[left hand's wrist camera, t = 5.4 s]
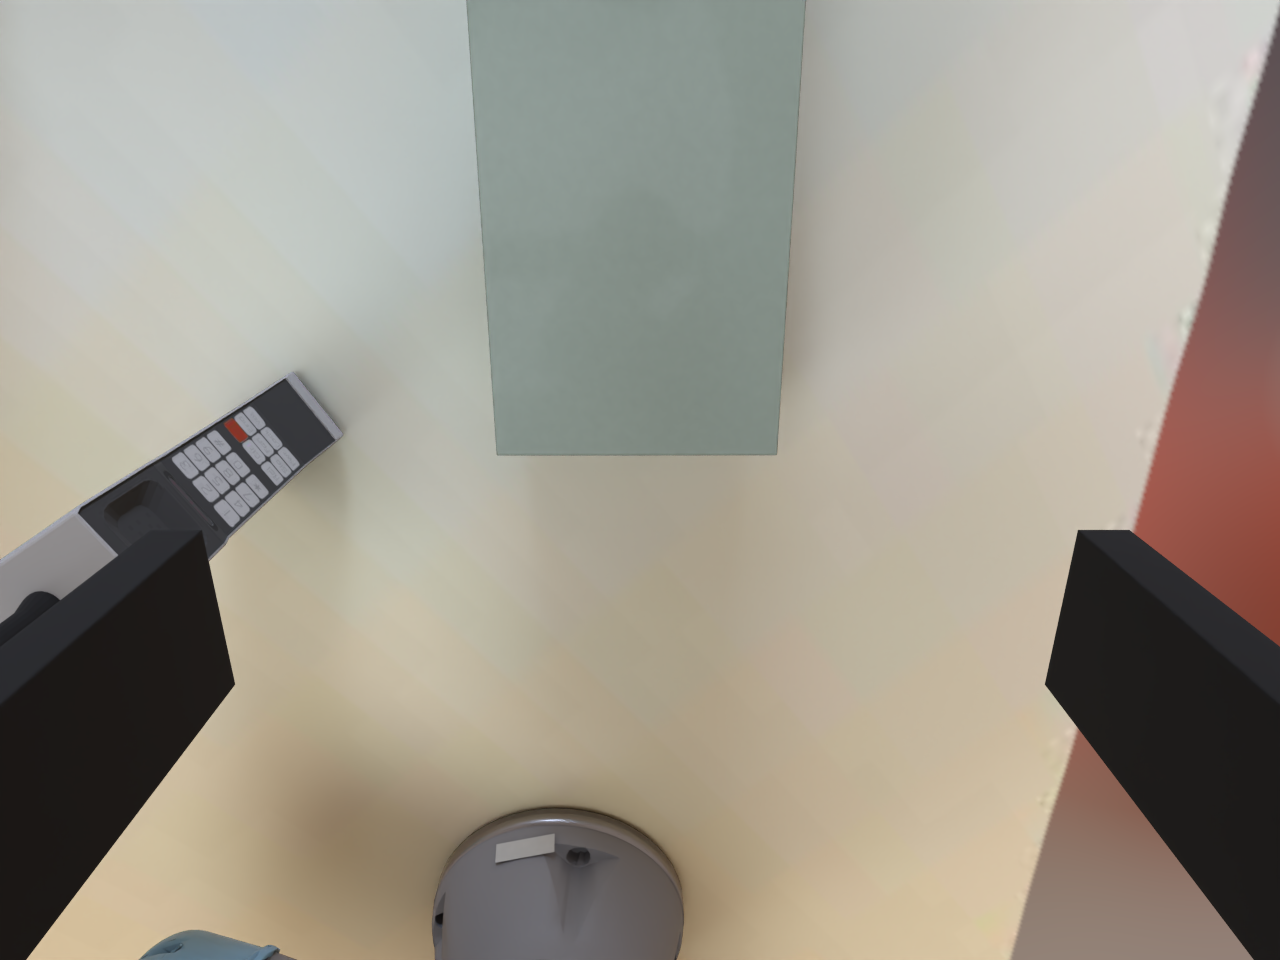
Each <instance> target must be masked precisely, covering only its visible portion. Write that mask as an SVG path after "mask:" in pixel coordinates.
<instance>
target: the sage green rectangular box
mask: <svg viewBox="0 0 1280 960" xmlns="http://www.w3.org/2000/svg"><path fill="white" fill-rule="evenodd" d="M466 1H467V16H468V31H469V46H470V61H471V76H472V91H473V106H474V121H475V136H476V151H477V166H478V181H479V196H480V211H481V226H482V241H483V256H484V271H485V286H486V301H487V316H488V331H489V346H490V361H491V376H492V391H493V406H494V421H495V436H496V451H497V455H777V445H778V430H779V414H780V398H781V383H782V367H783V351H784V336H785V320H786V304H787V288H788V273H789V257H790V241H791V226H792V210H793V194H794V179H795V163H796V147H797V132H798V116H799V100H800V85H801V69H802V53H803V37H804V22H805V6H806V0H466Z"/></svg>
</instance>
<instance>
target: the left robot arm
mask: <svg viewBox="0 0 1280 960" xmlns="http://www.w3.org/2000/svg"><path fill="white" fill-rule="evenodd" d="M234 685H235V682H234V677H233V673H232V668H231V663H230V659H229V654H228V649H227V645H226V640H225V635H224V631H223V626H222V621H221V617H220V612H219V607H218V603H217V598H216V593H215V589H214V584H213V579H212V575H211V570H210V565H209V561H208V556H207V551H206V547H205V542H204V537H203V533H202V530H150V531H149V532H148V533H146V534H145V535H144V536H143V537H141V538H140V539H139V540H137V541H136V542H135V543H133V544H132V545H131V546H130V547H128V548H127V549H126V550H124V551H123V552H122V553H121V554H119V555H118V556H117V557H115V558H114V559H113V560H112V561H110V562H109V563H108V564H106V565H105V566H104V567H103V568H101V569H100V570H99V571H97V572H96V573H95V574H93V575H92V576H91V577H90V578H88V579H87V580H86V581H84V582H83V583H82V584H81V585H79V586H78V587H77V588H75V589H74V590H73V591H72V592H70V593H69V594H68V595H66V596H65V597H64V598H63V599H61V600H60V601H59V602H57V603H56V604H55V605H53V606H52V607H51V608H50V609H48V610H47V611H46V612H44V613H43V614H42V615H41V616H39V617H38V618H37V619H35V620H34V621H33V622H32V623H30V624H29V625H28V626H26V627H25V628H24V629H23V630H21V631H20V632H19V633H17V634H16V635H15V636H13V637H12V638H11V639H10V640H8V641H7V642H6V643H4V644H3V645H2V646H1V647H0V960H26V959H27V958H28V957H29V955H30V954H31V953H32V951H33V950H34V949H35V947H36V946H37V945H38V943H39V942H40V941H41V939H42V938H43V937H44V935H45V934H46V933H47V932H48V930H49V929H50V928H51V926H52V925H53V924H54V922H55V921H56V920H57V918H58V917H59V916H60V914H61V913H62V912H63V910H64V909H65V908H66V906H67V905H68V904H69V903H70V901H71V900H72V899H73V897H74V896H75V895H76V893H77V892H78V891H79V889H80V888H81V887H82V885H83V884H84V883H85V881H86V880H87V879H88V878H89V876H90V875H91V874H92V872H93V871H94V870H95V868H96V867H97V866H98V864H99V863H100V862H101V860H102V859H103V858H104V856H105V855H106V854H107V852H108V851H109V850H110V849H111V847H112V846H113V845H114V843H115V842H116V841H117V839H118V838H119V837H120V835H121V834H122V833H123V831H124V830H125V829H126V827H127V826H128V825H129V823H130V822H131V821H132V820H133V818H134V817H135V816H136V814H137V813H138V812H139V810H140V809H141V808H142V806H143V805H144V804H145V802H146V801H147V800H148V798H149V797H150V796H151V795H152V793H153V792H154V791H155V789H156V788H157V787H158V785H159V784H160V783H161V781H162V780H163V779H164V777H165V776H166V775H167V773H168V772H169V771H170V769H171V768H172V767H173V766H174V764H175V763H176V762H177V760H178V759H179V758H180V756H181V755H182V754H183V752H184V751H185V750H186V748H187V747H188V746H189V744H190V743H191V742H192V740H193V739H194V738H195V737H196V735H197V734H198V733H199V731H200V730H201V729H202V727H203V726H204V725H205V723H206V722H207V721H208V719H209V718H210V717H211V715H212V714H213V713H214V712H215V710H216V709H217V708H218V706H219V705H220V704H221V702H222V701H223V700H224V698H225V697H226V696H227V694H228V693H229V692H230V690H231V689H232V688H233V686H234ZM1045 685H1046V686H1047V688H1048V689H1049V690H1050V692H1051V693H1052V694H1053V696H1054V697H1055V698H1056V700H1057V701H1058V702H1059V704H1060V705H1061V706H1062V708H1063V709H1064V710H1065V712H1066V713H1067V714H1068V715H1069V717H1070V718H1071V719H1072V721H1073V722H1074V723H1075V725H1076V726H1077V727H1078V729H1079V730H1080V731H1081V732H1082V734H1083V735H1084V737H1085V738H1086V739H1087V740H1088V742H1089V743H1090V744H1091V746H1092V747H1093V748H1094V750H1095V751H1096V752H1097V754H1098V755H1099V756H1100V758H1101V759H1102V760H1103V761H1104V763H1105V764H1106V766H1107V767H1108V768H1109V769H1110V771H1111V772H1112V773H1113V775H1114V776H1115V777H1116V779H1117V780H1118V781H1119V783H1120V784H1121V785H1122V787H1123V788H1124V789H1125V791H1126V792H1127V793H1128V794H1129V796H1130V797H1131V798H1132V800H1133V801H1134V802H1135V804H1136V805H1137V806H1138V808H1139V809H1140V810H1141V812H1142V813H1143V814H1144V815H1145V817H1146V818H1147V819H1148V821H1149V822H1150V823H1151V825H1152V826H1153V827H1154V829H1155V830H1156V831H1157V833H1158V834H1159V835H1160V837H1161V838H1162V839H1163V841H1164V842H1165V843H1166V845H1167V846H1168V847H1169V849H1170V850H1171V851H1172V852H1173V854H1174V855H1175V856H1176V858H1177V859H1178V860H1179V862H1180V863H1181V864H1182V866H1183V867H1184V868H1185V870H1186V871H1187V872H1188V874H1189V875H1190V876H1191V877H1192V879H1193V880H1194V881H1195V883H1196V884H1197V885H1198V887H1199V888H1200V889H1201V891H1202V892H1203V893H1204V895H1205V896H1206V897H1207V899H1208V900H1209V901H1210V903H1211V904H1212V905H1213V906H1214V908H1215V909H1216V910H1217V912H1218V913H1219V914H1220V916H1221V917H1222V918H1223V920H1224V921H1225V922H1226V924H1227V925H1228V926H1229V928H1230V929H1231V930H1232V931H1233V933H1234V934H1235V935H1236V937H1237V938H1238V939H1239V941H1240V942H1241V943H1242V945H1243V946H1244V947H1245V949H1246V950H1247V951H1248V953H1249V954H1250V955H1251V957H1252V958H1253V959H1254V960H1280V647H1279V646H1278V645H1277V644H1276V643H1274V642H1273V641H1272V640H1270V639H1269V638H1268V637H1266V636H1265V635H1264V634H1263V633H1261V632H1260V631H1259V630H1257V629H1256V628H1255V627H1254V626H1252V625H1251V624H1250V623H1248V622H1247V621H1246V620H1245V619H1243V618H1242V617H1241V616H1239V615H1238V614H1237V613H1236V612H1234V611H1233V610H1232V609H1230V608H1229V607H1228V606H1226V605H1225V604H1224V603H1223V602H1221V601H1220V600H1219V599H1217V598H1216V597H1215V596H1214V595H1212V594H1211V593H1210V592H1208V591H1207V590H1206V589H1205V588H1203V587H1202V586H1201V585H1199V584H1198V583H1197V582H1196V581H1194V580H1193V579H1192V578H1190V577H1189V576H1188V575H1186V574H1185V573H1184V572H1183V571H1181V570H1180V569H1179V568H1177V567H1176V566H1175V565H1174V564H1172V563H1171V562H1170V561H1168V560H1167V559H1166V558H1165V557H1163V556H1162V555H1161V554H1159V553H1158V552H1157V551H1156V550H1154V549H1153V548H1152V547H1150V546H1149V545H1148V544H1147V543H1145V542H1144V541H1143V540H1141V539H1140V538H1139V537H1137V536H1136V535H1135V534H1134V533H1132V532H1131V531H1130V530H1078V533H1077V537H1076V542H1075V547H1074V551H1073V556H1072V561H1071V565H1070V570H1069V575H1068V579H1067V584H1066V589H1065V593H1064V598H1063V603H1062V607H1061V612H1060V617H1059V621H1058V626H1057V631H1056V635H1055V640H1054V645H1053V649H1052V654H1051V659H1050V663H1049V668H1048V673H1047V677H1046V682H1045ZM683 925H684V913H683V897H682V890H681V886H680V882H679V879H678V876H677V874H676V871H675V870H674V868H673V866H672V864H671V862H670V861H669V860H668V858H667V857H666V856H665V854H664V853H663V852H662V851H661V850H660V849H659V848H658V846H656V845H655V844H654V843H653V842H652V841H651V840H650V839H648V838H647V837H646V836H644V835H643V834H642V833H640V832H639V831H637V830H635V829H634V828H632V827H630V826H628V825H626V824H624V823H622V822H620V821H618V820H615V819H613V818H610V817H607V816H604V815H601V814H597V813H593V812H588V811H583V810H575V809H562V808H550V809H537V810H530V811H525V812H520V813H516V814H512V815H509V816H506V817H503V818H501V819H498V820H496V821H494V822H491V823H489V824H487V825H486V826H484V827H482V828H480V829H479V830H477V831H476V832H474V833H473V834H472V835H470V836H469V837H468V838H467V839H466V840H464V841H463V842H462V843H461V844H460V845H459V846H458V848H457V849H456V850H455V851H454V852H453V854H452V855H451V857H450V858H449V860H448V861H447V863H446V865H445V867H444V869H443V872H442V874H441V878H440V881H439V885H438V889H437V892H436V896H435V900H434V908H433V918H432V934H433V943H434V947H435V960H676V959H677V957H678V954H679V951H680V947H681V942H682V934H683ZM279 952H280V949H279V948H277V947H276V946H273V945H267V946H265V947H259V946H256V945H252V944H249V943H245V942H242V941H238V940H235V939H232V938H228V937H225V936H221V935H218V934H214V933H211V932H208V931H202V930H188V931H183V932H180V933H177V934H174V935H172V936H170V937H168V938H166V939H164V940H162V941H161V942H159V943H158V944H156V945H155V946H154V947H152V948H151V949H150V950H149V951H147V952H146V953H145V954H144V955H143V956H142V957H141V958H140V959H139V960H296V959H293V958H290V957H288V956H285V955H282V954H279Z"/></svg>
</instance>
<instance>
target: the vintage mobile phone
mask: <svg viewBox="0 0 1280 960" xmlns="http://www.w3.org/2000/svg"><path fill="white" fill-rule="evenodd" d="M342 436H343V433H342V432H341V431H340V429H339V428H338V427H337V426H336V424H335V423H334V422H333V421H332V419H331V418H330V417H329V416H328V414H327V413H326V412H325V411H324V409H323V408H322V407H321V406H320V404H319V403H318V402H317V401H316V400H315V398H314V397H313V396H312V395H311V393H310V392H309V391H308V390H307V388H306V387H305V386H304V385H303V383H302V382H301V381H300V380H299V378H298V377H297V376H296V375H295V373H294V372H291V373H289V374H287V375H286V376H284V377H283V378H281V379H280V380H278V381H277V382H275V383H274V384H272V385H271V386H269V387H268V388H266V389H264V390H263V391H261V392H260V393H258V394H257V395H255V396H254V397H252V398H251V399H249V400H248V401H246V402H244V403H243V404H241V405H240V406H238V407H236V408H235V409H233V410H232V411H230V412H229V413H227V414H225V415H224V416H222V417H221V418H219V419H217V420H216V421H214V422H213V423H211V424H209V425H208V426H206V427H205V428H203V429H202V430H200V431H198V432H197V433H195V434H194V435H192V436H190V437H189V438H187V439H186V440H184V441H182V442H181V443H179V444H178V445H176V446H175V447H173V448H171V449H170V450H168V451H167V452H165V453H163V454H162V455H160V456H159V457H157V458H155V459H153V460H152V461H150V462H148V463H146V464H145V465H143V466H142V467H140V468H138V469H137V470H135V471H133V472H132V473H130V474H129V475H127V476H125V477H124V478H122V479H121V480H119V481H117V482H116V483H114V484H113V485H111V486H109V487H108V488H106V489H104V490H103V491H101V492H100V493H98V494H96V495H95V496H93V497H92V498H90V499H88V500H87V501H85V502H83V503H82V504H80V505H79V506H77V507H76V508H74V509H73V510H71V511H70V512H68V513H67V514H66V515H64V516H63V517H61V518H60V519H58V520H57V521H55V522H54V523H53V524H51V525H50V526H48V527H47V528H45V529H44V530H42V531H41V532H40V533H38V534H37V535H35V536H34V537H32V538H31V539H29V540H28V541H26V542H25V543H24V544H22V545H21V546H19V547H18V548H16V549H15V550H13V551H12V552H11V553H9V554H8V555H6V556H5V557H3V558H2V559H0V647H1V646H2V645H3V644H4V643H6V642H7V641H8V640H10V639H11V638H12V637H13V636H15V635H16V634H17V633H19V632H20V631H21V630H23V629H24V628H25V627H26V626H28V625H29V624H30V623H32V622H33V621H34V620H35V619H37V618H38V617H39V616H41V615H42V614H43V613H44V612H46V611H47V610H48V609H50V608H51V607H52V606H53V605H55V604H56V603H57V602H59V601H60V600H61V599H63V598H64V597H65V596H66V595H68V594H69V593H70V592H72V591H73V590H74V589H75V588H77V587H78V586H79V585H81V584H82V583H83V582H84V581H86V580H87V579H88V578H90V577H91V576H92V575H93V574H95V573H96V572H97V571H99V570H100V569H101V568H103V567H104V566H105V565H106V564H108V563H109V562H110V561H112V560H113V559H114V558H115V557H117V556H118V555H119V554H121V553H122V552H123V551H124V550H126V549H127V548H128V547H130V546H131V545H132V544H133V543H135V542H136V541H137V540H139V539H140V538H141V537H143V536H144V535H145V534H146V533H148V532H149V531H150V530H202V533H203V537H204V542H205V547H206V551H207V556H208V561H210V560H211V559H212V558H213V557H214V556H215V555H216V554H217V553H218V552H219V551H220V550H221V549H222V548H223V547H224V546H225V545H226V543H227V541H228V539H229V538H230V537H231V536H232V535H233V534H234V533H235V532H236V531H237V530H238V529H240V528H241V527H242V526H243V525H244V524H245V523H246V522H247V521H248V520H249V519H250V518H251V517H252V516H253V515H254V514H255V513H257V512H258V511H259V510H260V509H261V508H262V507H263V506H264V505H265V504H266V503H267V502H268V501H269V500H270V499H271V498H273V497H274V496H275V495H276V494H277V493H278V492H279V491H280V490H281V489H282V488H283V487H284V486H285V485H286V484H287V483H289V482H290V481H291V480H292V479H293V478H294V477H295V476H296V475H297V474H298V473H299V472H300V471H301V470H302V469H303V468H305V467H306V466H307V465H308V464H309V463H311V462H312V461H313V460H314V459H316V458H317V457H318V456H319V455H321V454H322V453H323V452H324V451H326V450H327V449H328V448H329V447H331V446H332V445H333V444H334V443H336V442H337V441H338V440H339V439H340V438H341V437H342Z"/></svg>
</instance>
